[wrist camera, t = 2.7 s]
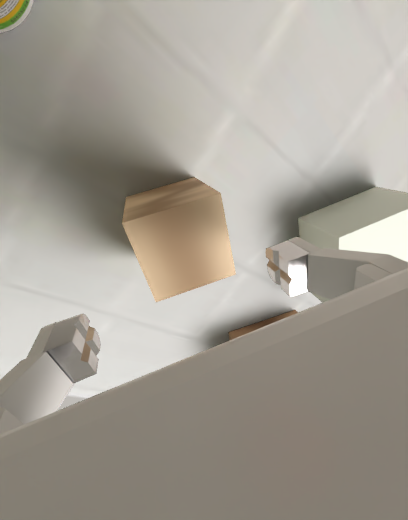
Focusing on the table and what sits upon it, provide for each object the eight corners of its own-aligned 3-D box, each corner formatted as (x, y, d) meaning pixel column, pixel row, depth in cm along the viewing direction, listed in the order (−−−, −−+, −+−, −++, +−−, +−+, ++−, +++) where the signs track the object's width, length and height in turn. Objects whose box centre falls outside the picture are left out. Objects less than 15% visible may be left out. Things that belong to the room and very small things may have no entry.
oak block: (194, 176, 17) (220, 193, 11) (208, 238, 19) (235, 274, 14) (126, 196, 16) (121, 223, 11) (150, 257, 18) (156, 302, 13)
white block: (373, 186, 21) (434, 197, 17) (367, 257, 25) (414, 281, 21) (296, 217, 21) (339, 237, 16) (302, 285, 25) (337, 315, 20)
